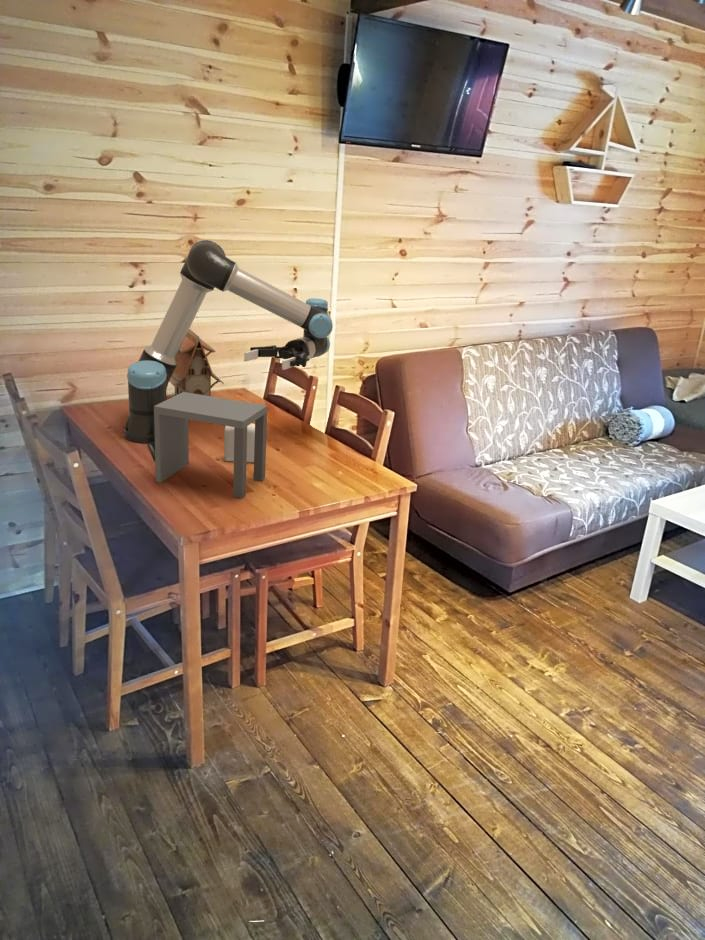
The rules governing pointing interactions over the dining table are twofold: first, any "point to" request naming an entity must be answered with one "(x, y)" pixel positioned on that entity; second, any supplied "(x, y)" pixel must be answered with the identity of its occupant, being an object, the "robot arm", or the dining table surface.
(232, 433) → the photo printer
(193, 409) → the low shelf
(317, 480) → the dining table surface
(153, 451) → the phone
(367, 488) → the dining table surface
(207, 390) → the miniature house
